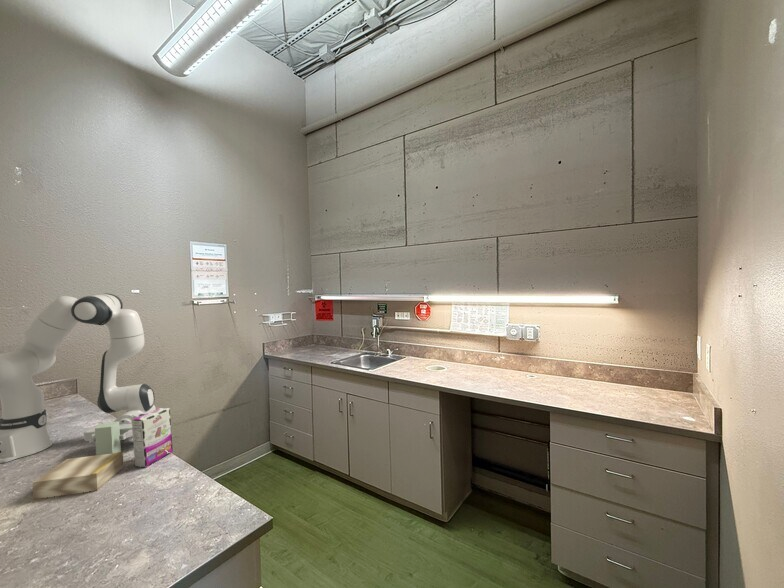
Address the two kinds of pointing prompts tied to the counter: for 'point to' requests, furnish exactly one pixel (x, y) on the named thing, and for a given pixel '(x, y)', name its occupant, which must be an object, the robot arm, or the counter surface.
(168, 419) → the candy bar box
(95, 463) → the dock
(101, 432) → the pale green block
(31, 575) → the counter surface
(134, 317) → the robot arm
